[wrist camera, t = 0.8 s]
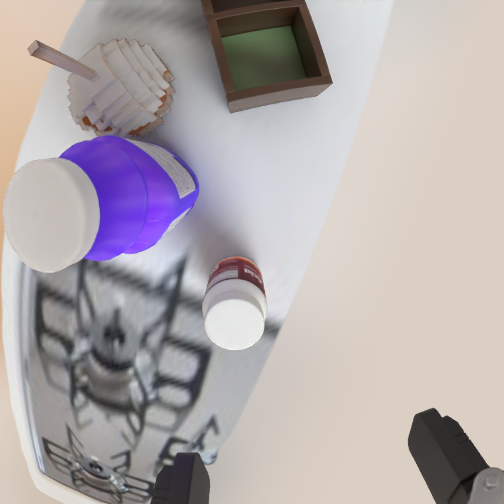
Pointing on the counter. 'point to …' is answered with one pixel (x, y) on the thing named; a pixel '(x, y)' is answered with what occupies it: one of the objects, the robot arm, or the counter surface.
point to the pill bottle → (235, 303)
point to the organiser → (266, 51)
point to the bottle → (96, 202)
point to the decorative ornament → (114, 87)
